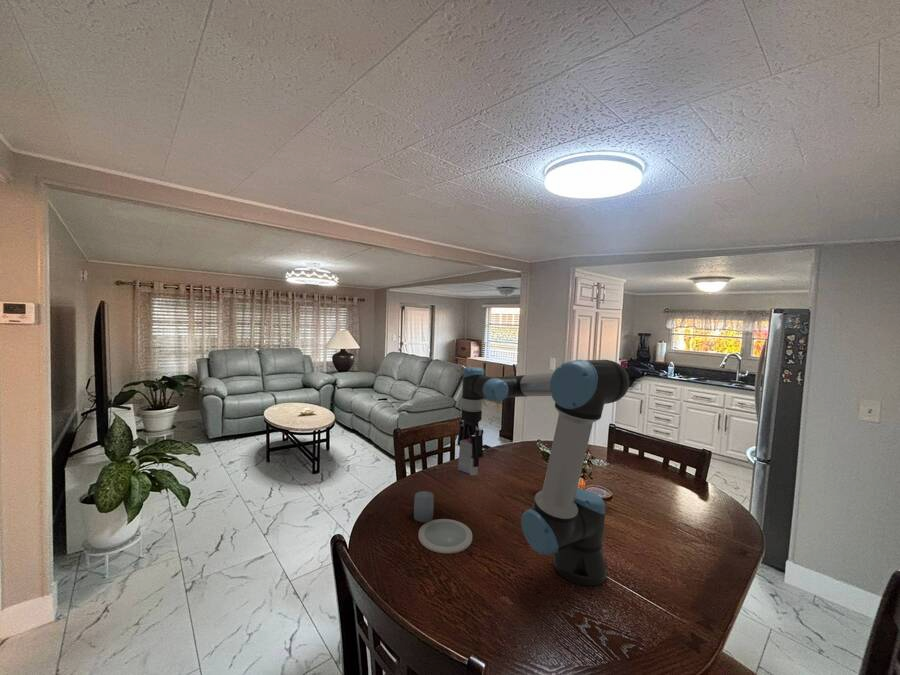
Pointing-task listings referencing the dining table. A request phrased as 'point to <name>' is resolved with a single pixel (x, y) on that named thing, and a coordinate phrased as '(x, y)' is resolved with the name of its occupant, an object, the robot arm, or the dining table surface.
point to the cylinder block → (423, 506)
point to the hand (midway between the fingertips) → (468, 470)
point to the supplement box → (465, 456)
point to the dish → (445, 536)
